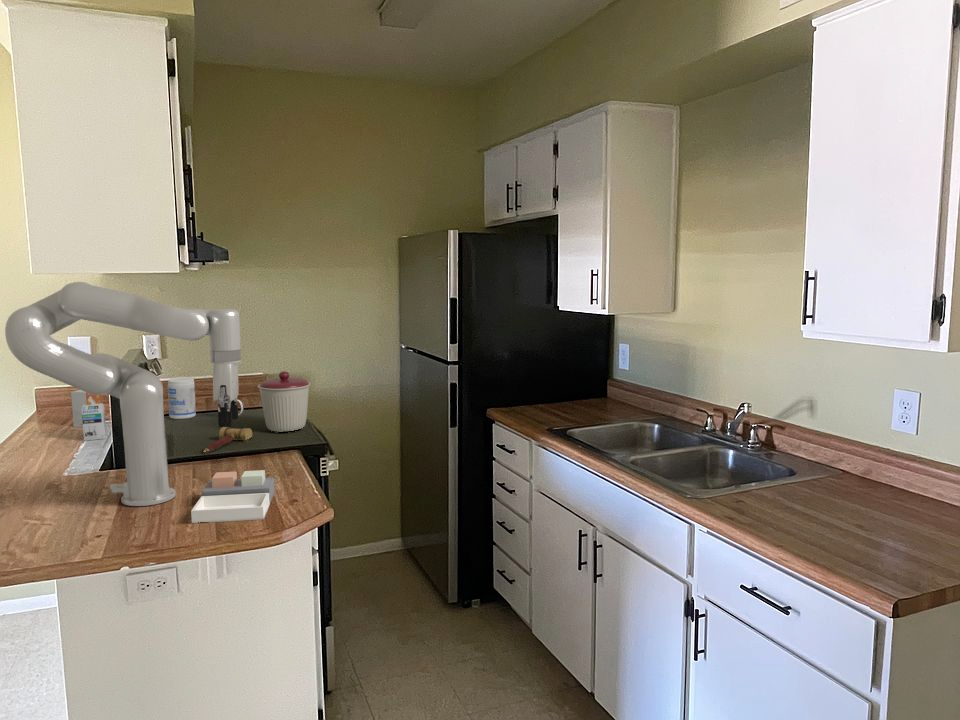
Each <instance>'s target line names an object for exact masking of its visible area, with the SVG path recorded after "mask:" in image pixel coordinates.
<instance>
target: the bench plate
mask: <svg viewBox="0 0 960 720" xmlns="http://www.w3.org/2000/svg"><path fill="white" fill-rule="evenodd" d="M275 488H276V487H275V477H274V476H273V477H265V481H264V483H263V485H262V486H243V487H242V481H241V478H237V482H236V484H235V485H234V487H223V488H212V479H211V480H209V481H208V482H207V484H206V485H205V487H204V488H203V489H202V491H201V496H218V495H238V494H257V493H269V500H270V504H271V502H272V501H273V498H274V495H275V490H276V489H275Z"/></svg>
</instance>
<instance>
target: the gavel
mask: <svg viewBox="0 0 960 720" xmlns="http://www.w3.org/2000/svg"><path fill="white" fill-rule="evenodd" d="M218 436H219V439H217V440H216V441H214V442H212V443H210V444H208V445H206V447H205V448H204V450H203V451H202V453H203V452H206V451H210V450H213V449H216V448H218V447H220V446H222V447H224V446H226V445H228V444H229V443H231V442H232V441H235V440H234V439H237V440H236V441H238V440H239V439H241V441H242V440H247V439H249V438H251V437H252V438H253V431H252V429H251V428H248V427H247V428H246V427H244V428H230V427H220V430H219V432H218ZM227 443H228V444H227ZM225 444H226V445H225ZM223 445H224V446H223Z"/></svg>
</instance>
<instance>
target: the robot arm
mask: <svg viewBox="0 0 960 720" xmlns="http://www.w3.org/2000/svg"><path fill="white" fill-rule="evenodd" d="M80 320H84V321H89V322H93V323H94V322H95V323H99V324H105V325H109V326H110V325H111V326H116V327H120V328H123V329H130V330H132V331H133V330H134V331H139V332H145V333H150V334H154V335H159V336H163V337H168V338H173V339H179V340H183V341H184V340H185V341H189V342H192V341H198V340H201V339H203V338H204V337H206V336H208V337H209V353H210V355H209V358H210V364H213V367H212V368H213V369H212V401H213V402H214V403H217V402H218V405H217V406H218V408H217V411H218V412H217V414H218V415H217V417H218V419H217V420H218V428H222V427H229V428H230V427H233V420H238V419H239V416H238V414H239V405H238V401H237V400H238V396H239V392H240V391H239V387H240V386H239V385H240V384H239V367H238V363H239V364H240V363H241V362H242V351H241V350H242V348H241V347H242V346H241V345H242V344H241V325H240V324H241V323H240V313H239V311H238V310H237V309H234V308H214V309H213V308H212V309H205V308H204V309H202V308H195V307H193V308H191V307H190V308H189V307H188V308H183V307H177V306H173V305H169V304H164V303H161V302H156V301H153V300H150V299H148V298H146V297H144V296H141V295H138V294H135V293H131V292H124V291H121V290H120V291H119V290H115V289H110V288H106V287H101V286H97V285H93V284H92V285H91V284H90V283H88V282H83V281H74V282H69V283H67V284H66V285H64V286H63V287H62V288H61V289H60V290H57V291H55V292H53V293H52V294H50V295H48V296H46V297H44V298H42V299H39V300H38V301H36V302H34V303H32V304H29V305H27V306H24V307H21V308H18V309H16V310H15V311H13V312H12V313H11V314H10V316H8V318H7V320H6V323H5V330H4V331H5V332H4V333H5V339H6V344H7V347H8V349H9V350H10V352H11V353H12V355H13V357H14V358H16V359H17V360H18V361H19V362H20V363H21V364H22V365H24V366H26V367H28V368H29V369H31V370H33V371H36V372H37V373H40V374H42V375H45V376H47V377H50V378H52V379H54V380H56V381H58V382H61V383H64V384H66V385H68V386H71V387H73V388H75V389H78V390H82V391H85V392H87V393H89V394H92V395H101V396H103V395H110V396H112V397H114V398H117V399H119V406H120V414H121V416H120V417H121V424H122V436H123V447H124V459H125V460H124V461H125V472H126V473H125V474H126V481H125V482H123V483H111V484H110V486H109V491H110V492H111V494H112V495H113V494H122V496H121V498H120V499H121V500H120V501H121V503H122V504H123V505H125V506H128V507H129V506H130V507H147V506H154V505H155V506H156V505H158V504H162V503H165V502H169V501H171V500H172V499H174V498H175V497H176V496H177V492H176V489H175V488H173V487H170V485H169V471H168V470H169V469H168V456H167V455H168V454H167V442H166V427H165V416H164V415H165V413H164V386H163V382H162V380H161V379H160V377H159V376H158V375H156V374H155V373H154V372H151V371H149V370H148V369H146V368H145V369H144V368H143V367H140V366H138V365H136V364H133V363H131V362H128V361H126V360H124V359H121V358H119V357H116V356H114V355H111V354H107V353H102V352H99V353H93V354H90V353H89V352H85V351H82V350H80V349H78V348H76V347H74V346H72V345H69V344H66V343H63V342H61V341H59V340H56V339H54V338H53V337H52V335H53V334H56V333H58V332H59V331H61V330H63V329H65V328H67V327H69V326H71V325H72V324H75V323H76V322H77V323H78V322H79V321H80ZM227 404H228V405H227Z"/></svg>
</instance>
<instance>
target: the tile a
mask: <svg viewBox="0 0 960 720" xmlns="http://www.w3.org/2000/svg"><path fill="white" fill-rule="evenodd" d="M237 473H238V472H237V471H220V472H219V471H217V472H215V473H214V475H212V478H211V480H212V488H223V487H234V485H235V484H236V482H237V479H238V474H237Z"/></svg>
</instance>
